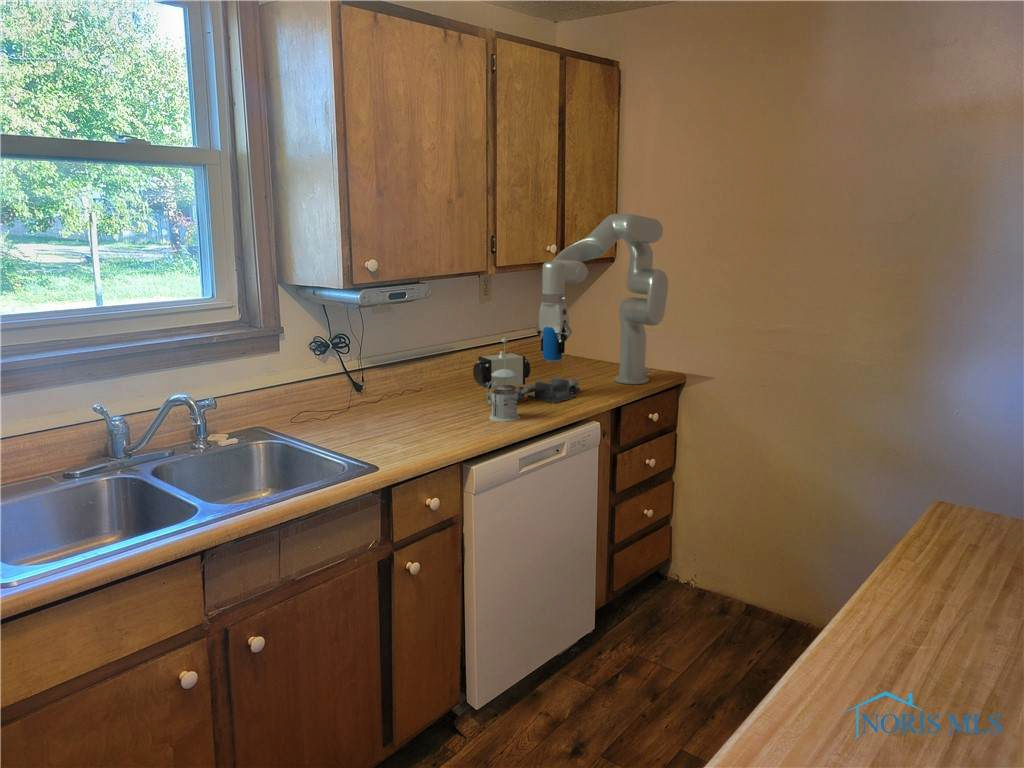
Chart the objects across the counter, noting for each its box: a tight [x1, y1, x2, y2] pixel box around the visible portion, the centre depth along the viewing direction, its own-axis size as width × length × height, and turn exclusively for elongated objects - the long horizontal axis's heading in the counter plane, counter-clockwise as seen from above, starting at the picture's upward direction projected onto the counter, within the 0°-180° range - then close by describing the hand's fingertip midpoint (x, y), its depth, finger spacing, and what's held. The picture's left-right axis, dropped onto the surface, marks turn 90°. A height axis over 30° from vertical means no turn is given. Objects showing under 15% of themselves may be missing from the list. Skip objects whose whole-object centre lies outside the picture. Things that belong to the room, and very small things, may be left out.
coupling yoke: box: [515, 376, 581, 404], centre depth 262 cm, size 24×15×6 cm, turn 137°
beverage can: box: [542, 326, 563, 363], centre depth 257 cm, size 6×6×12 cm
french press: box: [486, 337, 521, 423], centre depth 233 cm, size 10×12×25 cm
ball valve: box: [472, 350, 531, 405], centre depth 251 cm, size 18×8×18 cm, turn 120°
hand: (552, 351), depth 258 cm, fingers closed on beverage can, 6 cm apart
